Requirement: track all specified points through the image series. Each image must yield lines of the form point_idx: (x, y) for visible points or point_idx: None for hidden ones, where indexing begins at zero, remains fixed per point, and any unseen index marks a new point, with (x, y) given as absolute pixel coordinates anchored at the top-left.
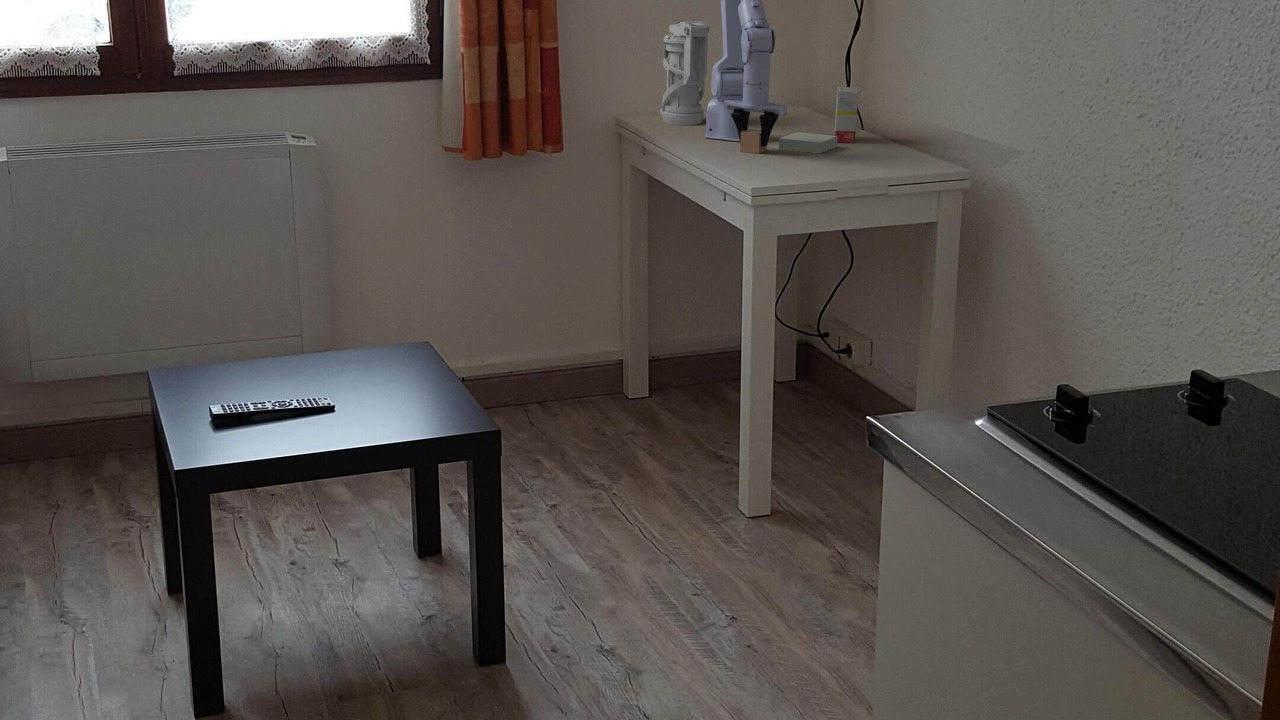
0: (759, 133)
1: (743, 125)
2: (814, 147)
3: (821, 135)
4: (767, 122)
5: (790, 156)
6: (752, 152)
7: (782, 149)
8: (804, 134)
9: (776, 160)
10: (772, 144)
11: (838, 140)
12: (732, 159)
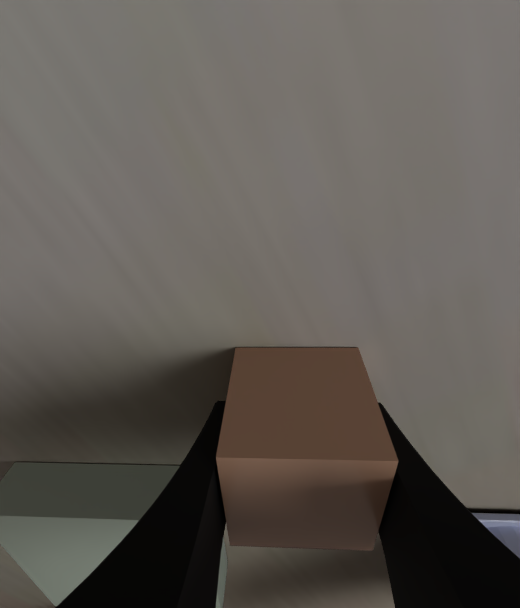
0: (217, 459)
1: (408, 545)
2: (25, 488)
3: None
4: (94, 582)
5: (60, 368)
6: (274, 349)
7: None
8: None
9: (17, 222)
10: None
11: None
12: (296, 31)
